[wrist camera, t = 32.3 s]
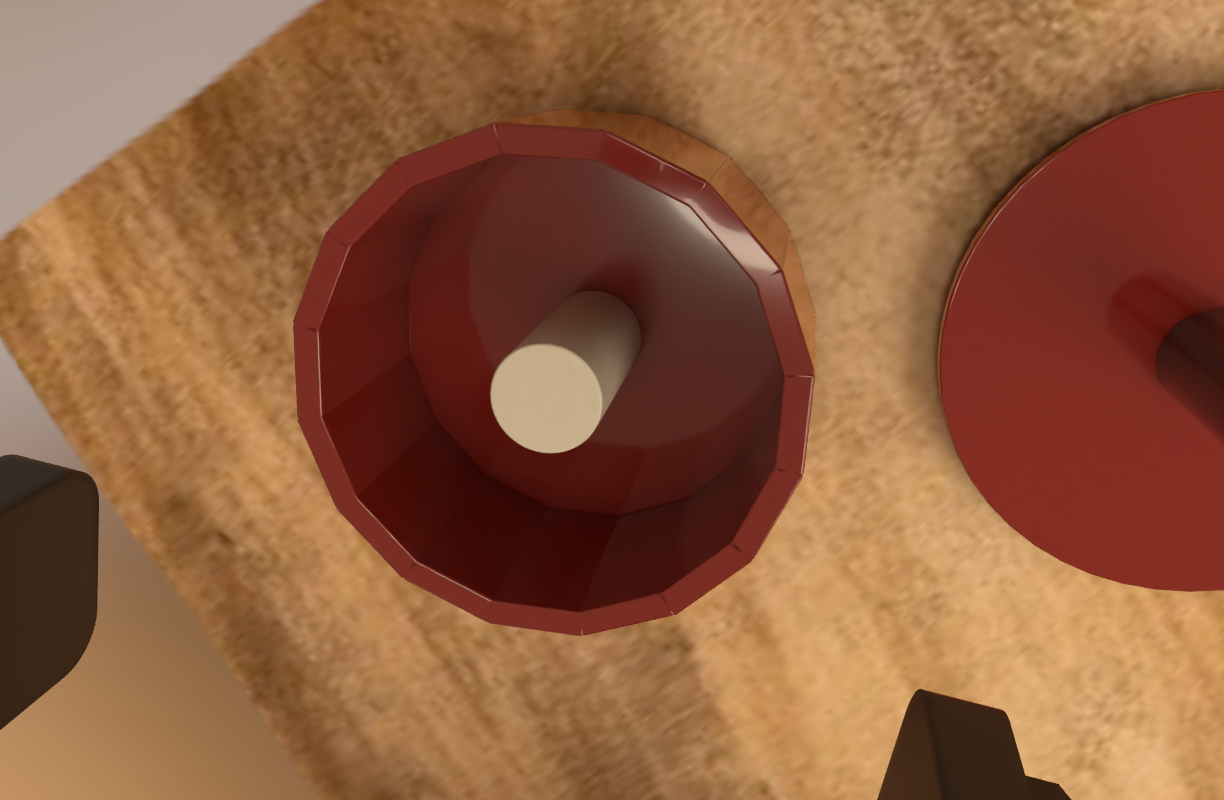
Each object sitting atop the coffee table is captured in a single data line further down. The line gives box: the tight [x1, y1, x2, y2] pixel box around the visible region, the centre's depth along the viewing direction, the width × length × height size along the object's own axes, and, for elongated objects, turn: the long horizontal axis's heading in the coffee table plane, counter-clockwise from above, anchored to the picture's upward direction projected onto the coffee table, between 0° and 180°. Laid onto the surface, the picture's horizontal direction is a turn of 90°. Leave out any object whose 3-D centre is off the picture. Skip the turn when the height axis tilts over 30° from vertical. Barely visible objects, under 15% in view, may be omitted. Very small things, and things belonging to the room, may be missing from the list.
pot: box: [293, 110, 815, 636], centre depth 33 cm, size 15×15×8 cm
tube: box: [490, 291, 641, 453], centre depth 33 cm, size 3×3×7 cm
